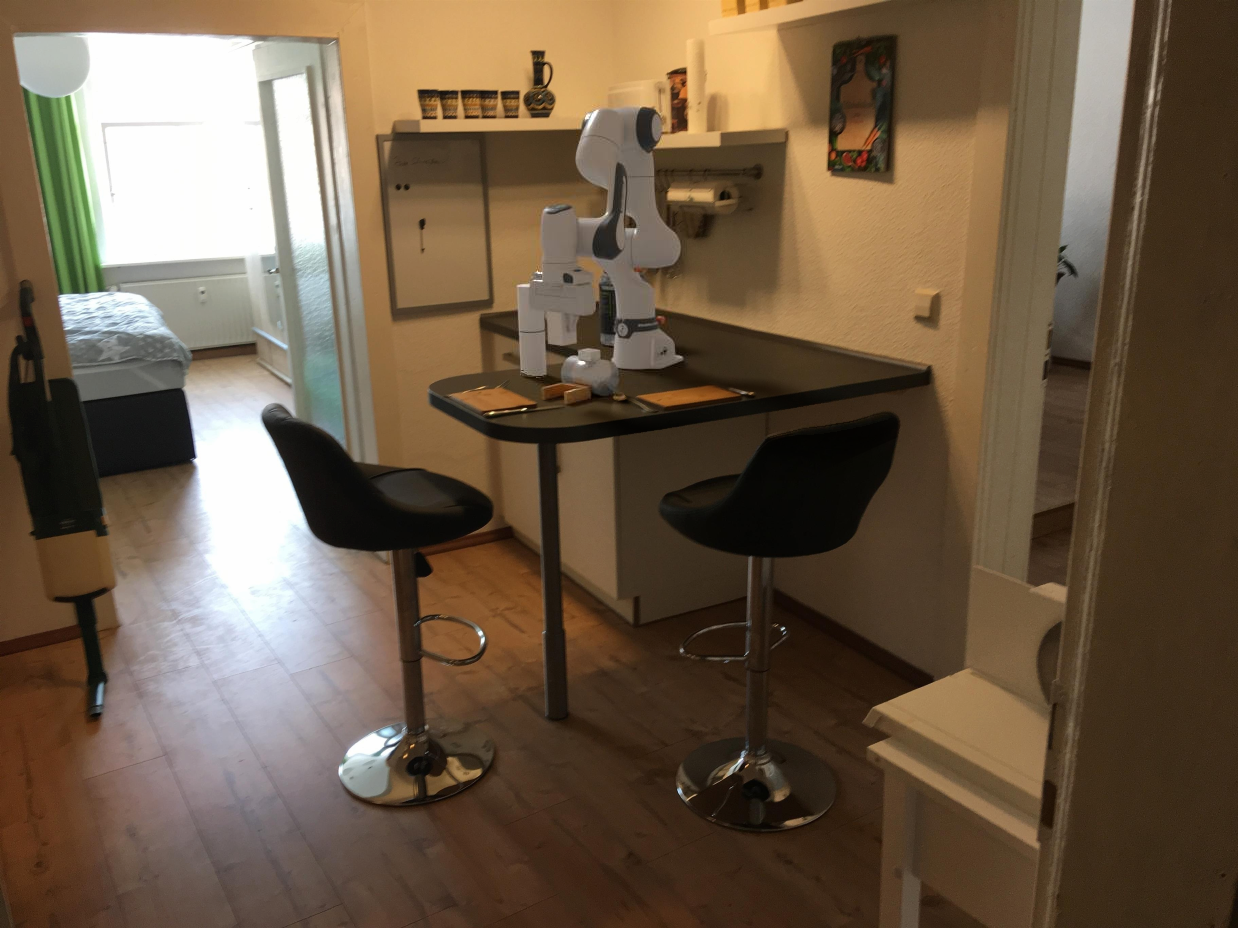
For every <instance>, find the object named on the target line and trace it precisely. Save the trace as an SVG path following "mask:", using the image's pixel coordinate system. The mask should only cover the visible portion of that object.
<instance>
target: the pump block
mask: <svg viewBox="0 0 1238 928" xmlns="http://www.w3.org/2000/svg"><path fill="white" fill-rule="evenodd" d="M570 320H571V319H570V318H569V314H566V313H562V312H554V311H547V320H546V322H547V323H546V324H547V327H546V328H547V344H548V345H552V346H553V345H556V346H561V347H563V346H568V345H573V344H577V343H578V341H577V330H576V331H575V332H567V325H569V323H570Z"/></svg>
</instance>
